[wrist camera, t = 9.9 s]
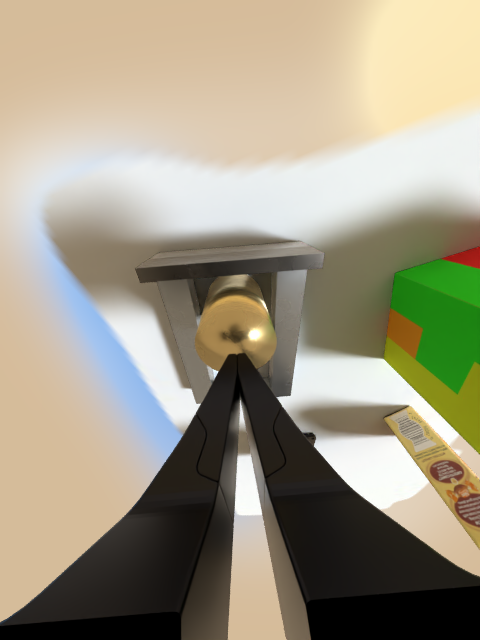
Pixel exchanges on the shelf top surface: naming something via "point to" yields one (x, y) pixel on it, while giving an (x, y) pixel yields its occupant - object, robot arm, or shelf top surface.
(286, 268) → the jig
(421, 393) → the puzzle toy
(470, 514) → the candy box
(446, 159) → the shelf top surface
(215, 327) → the gold metal cylinder
